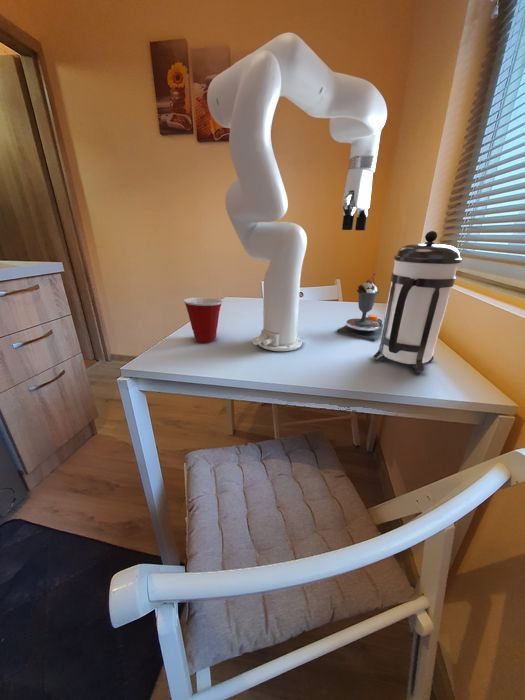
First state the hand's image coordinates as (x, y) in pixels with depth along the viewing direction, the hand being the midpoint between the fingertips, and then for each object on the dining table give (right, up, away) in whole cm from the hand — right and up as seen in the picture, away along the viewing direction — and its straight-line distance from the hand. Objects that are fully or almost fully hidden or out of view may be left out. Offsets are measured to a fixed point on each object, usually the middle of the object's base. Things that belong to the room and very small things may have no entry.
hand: (353, 230), depth 88 cm
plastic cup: (-46, -35, -6) cm, 58 cm away
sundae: (+3, -30, 0) cm, 30 cm away
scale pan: (+3, -30, 0) cm, 30 cm away
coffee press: (+6, -41, -19) cm, 46 cm away
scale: (+5, -32, +3) cm, 32 cm away
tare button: (+8, -28, +6) cm, 30 cm away
